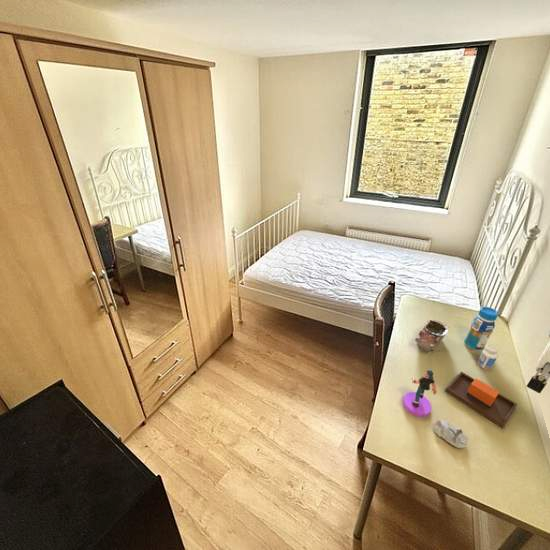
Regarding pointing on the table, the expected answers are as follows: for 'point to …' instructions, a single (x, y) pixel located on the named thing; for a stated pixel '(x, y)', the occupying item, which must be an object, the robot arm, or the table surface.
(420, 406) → the figurine
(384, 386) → the table surface
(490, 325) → the blue lidded jar
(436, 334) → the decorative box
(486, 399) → the orange rectangular block
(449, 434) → the stone
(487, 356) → the pill bottle
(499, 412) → the tray
